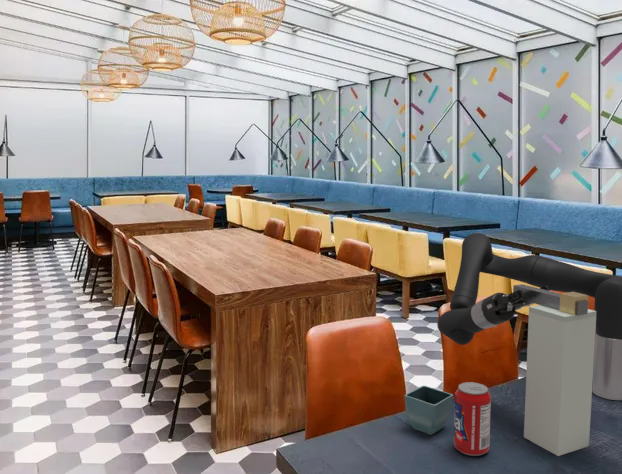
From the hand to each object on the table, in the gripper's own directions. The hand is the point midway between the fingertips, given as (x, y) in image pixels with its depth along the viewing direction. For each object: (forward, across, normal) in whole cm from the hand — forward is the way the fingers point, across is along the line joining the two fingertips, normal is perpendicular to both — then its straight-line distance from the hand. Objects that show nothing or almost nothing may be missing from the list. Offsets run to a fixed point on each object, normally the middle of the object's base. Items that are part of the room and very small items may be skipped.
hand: (535, 291), depth 139 cm
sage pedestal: (-10, 0, -34) cm, 35 cm away
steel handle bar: (+2, 0, -4) cm, 5 cm away
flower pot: (-27, +23, -25) cm, 43 cm away
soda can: (-16, +20, -31) cm, 40 cm away
